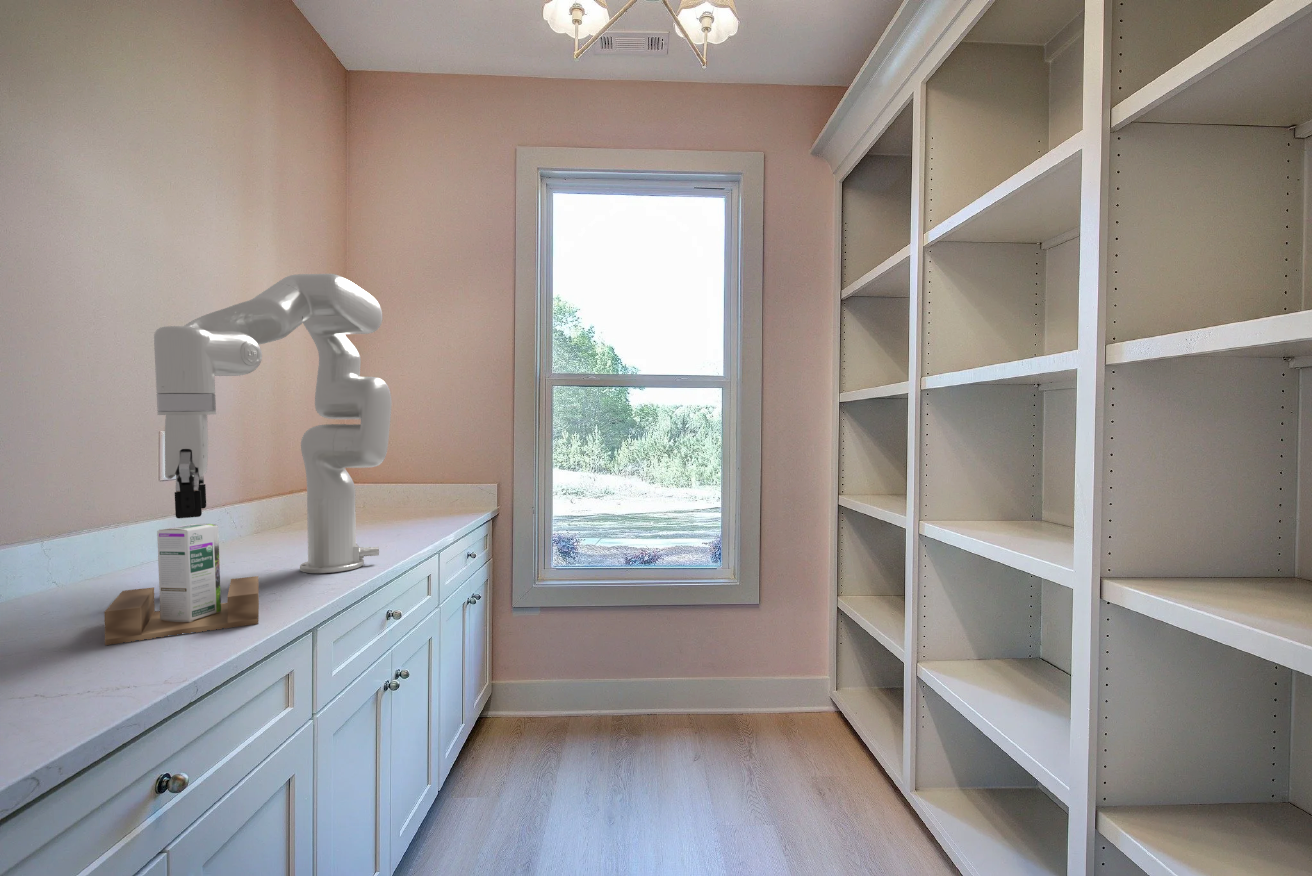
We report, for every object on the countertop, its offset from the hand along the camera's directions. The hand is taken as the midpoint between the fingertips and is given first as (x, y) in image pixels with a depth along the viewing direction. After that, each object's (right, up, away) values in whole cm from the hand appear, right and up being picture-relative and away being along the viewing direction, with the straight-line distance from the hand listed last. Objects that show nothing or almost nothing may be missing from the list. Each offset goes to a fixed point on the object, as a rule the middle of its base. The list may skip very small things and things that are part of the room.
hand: (191, 512), depth 102 cm
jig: (0, -17, 0) cm, 17 cm away
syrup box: (0, -17, 0) cm, 17 cm away
